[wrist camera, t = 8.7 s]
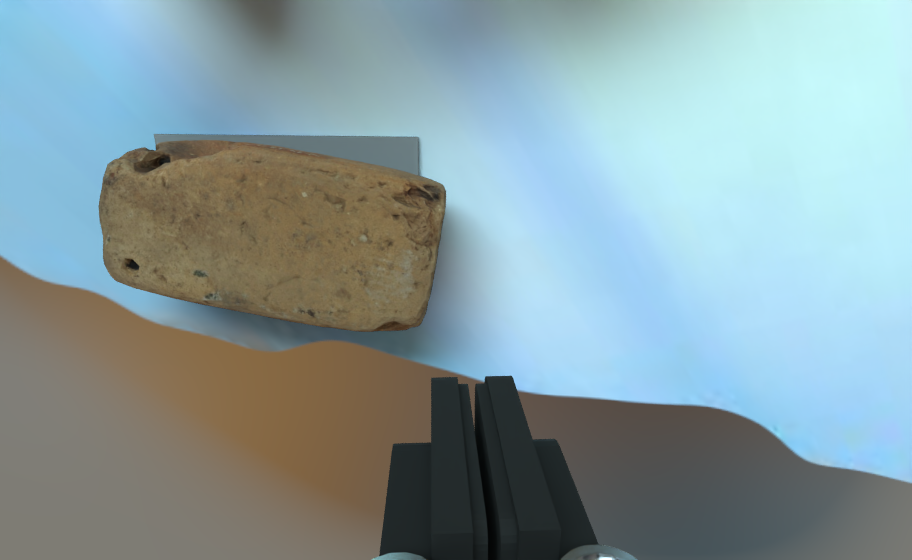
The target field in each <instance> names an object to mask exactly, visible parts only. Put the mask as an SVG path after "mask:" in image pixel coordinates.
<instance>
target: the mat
mask: <svg viewBox="0 0 912 560" xmlns="http://www.w3.org/2000/svg"><path fill="white" fill-rule="evenodd" d="M154 138H155V143H156V145H157V144H158V143H160V142H165V141H183V140H189V141H191V140H223V141H232V142H249V143H257V144H264V145H274V146H280V147H285V148H290V149H295V150H301V151H306V152H312V153H319V154H324V155H329V156H333V157H338V158H343V159H348V160H354V161H360V162H364V163H369V164H375V165H380V166H384V167H388V168H393V169H397V170H401V171H405V172H408V173H412V174H415V175H418V176H419V155H418V137H374V136H285V135H196V134H154Z"/></svg>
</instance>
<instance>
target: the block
mask: <svg viewBox="0 0 912 560" xmlns="http://www.w3.org/2000/svg"><path fill="white" fill-rule="evenodd" d="M445 207H446V190H445V188H444V186H443V185H442V184H440V183H438V182H435V181H433V180H431V179H428V178H425V177H421V176H418V175H415V174H412V173H408V172H405V171H401V170H397V169H393V168H388V167H384V166H380V165H375V164H369V163H364V162H360V161H354V160H348V159H343V158H338V157H333V156H329V155H324V154H319V153H312V152H306V151H301V150H295V149H290V148H285V147H280V146H274V145H264V144H257V143H249V142H232V141H223V140H191V141H189V140H183V141H165V142H160V143H158V144H157V145H156V151H154V150H149V149H147V148H145V147H144V148H139V149H135V150H132V151H129V152H127V153H126V154H124V155H123V156H122V157H120V158H119V159H115V160H113V161H112V162H110V163H109V164H108V165H107V168H106V171H105V174H104V177H103V183H102V190H101V195H100V201H99V217H100V224H101V228H102V233H103V259H104V264H105V266H106V268H107V271H108V272H109V274H110V275H111V276H112V277H113V279H114V280H115V281H118V282H120V283H122V284H125V285H128V286H131V287H133V288H136V289H140V290H144V291H148V292H152V293H156V294H159V295H163V296H167V297H171V298H175V299H180V300H185V301H189V302H194V303H198V304H203V305H208V306H214V307H219V308H224V309H229V310H234V311H240V312H246V313H251V314H256V315H261V316H266V317H270V318H275V319H281V320H286V321H290V322H297V323H303V324H309V325H315V326H320V327H331V328H337V329H344V330H352V331H361V332H373V331H399V330H407V329H409V328H411V327H416V326H419V325H420V324H421V323H422V321H423V318H424V316H425V314H426V310H427V306H428V301H429V298H430V295H431V290H432V285H433V279H434V274H435V267H436V261H437V255H438V247H439V243H440V236H441V229H442V223H443V219H444V214H445Z"/></svg>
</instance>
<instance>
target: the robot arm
mask: <svg viewBox="0 0 912 560" xmlns="http://www.w3.org/2000/svg"><path fill="white" fill-rule="evenodd" d="M431 382H432V383H431V400H432V401H431V404H432V405H431V407H432V408H431V443H401V444H393V449H392V456H391V465H390V472H389V480H388V489H387V497H386V506H385V514H384V522H383V530H382V538H381V547H380V555H379V557H376V558H374V559H372V560H637V559H636V558H635V557H634V556H632V555H630V554H628V553H626V552H624V551H622V550H619V549H617V548H613V547H609V546H604V545H599V544H598V542H597V539H596V537H595V534H594V532H593V529H592V527H591V524H590V522H589V519H588V517H587V514H586V512H585V509H584V506H583V504H582V501H581V499H580V496H579V494H578V491H577V489H576V486H575V484H574V481H573V479H572V477H571V474H570V471H569V469H568V466H567V464H566V461H565V459H564V456H563V453H562V451H561V448H560V446H559V444H558V442H557V441H556V440H555V439H538V440H537V439H536V440H532V436H531V433H530V430H529V427H528V424H527V421H526V418H525V414H524V412H523V408H522V405H521V402H520V399H519V396H518V392H517V389H516V386H515V383H514V380H513V377H512V376H486V377H485V384H476V386H475V432H474V425H473V418H472V411H471V404H470V396H469V389H468V384H458V379H457V377H447V378H446V377H445V378H444V377H443V378H432V379H431Z"/></svg>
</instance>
